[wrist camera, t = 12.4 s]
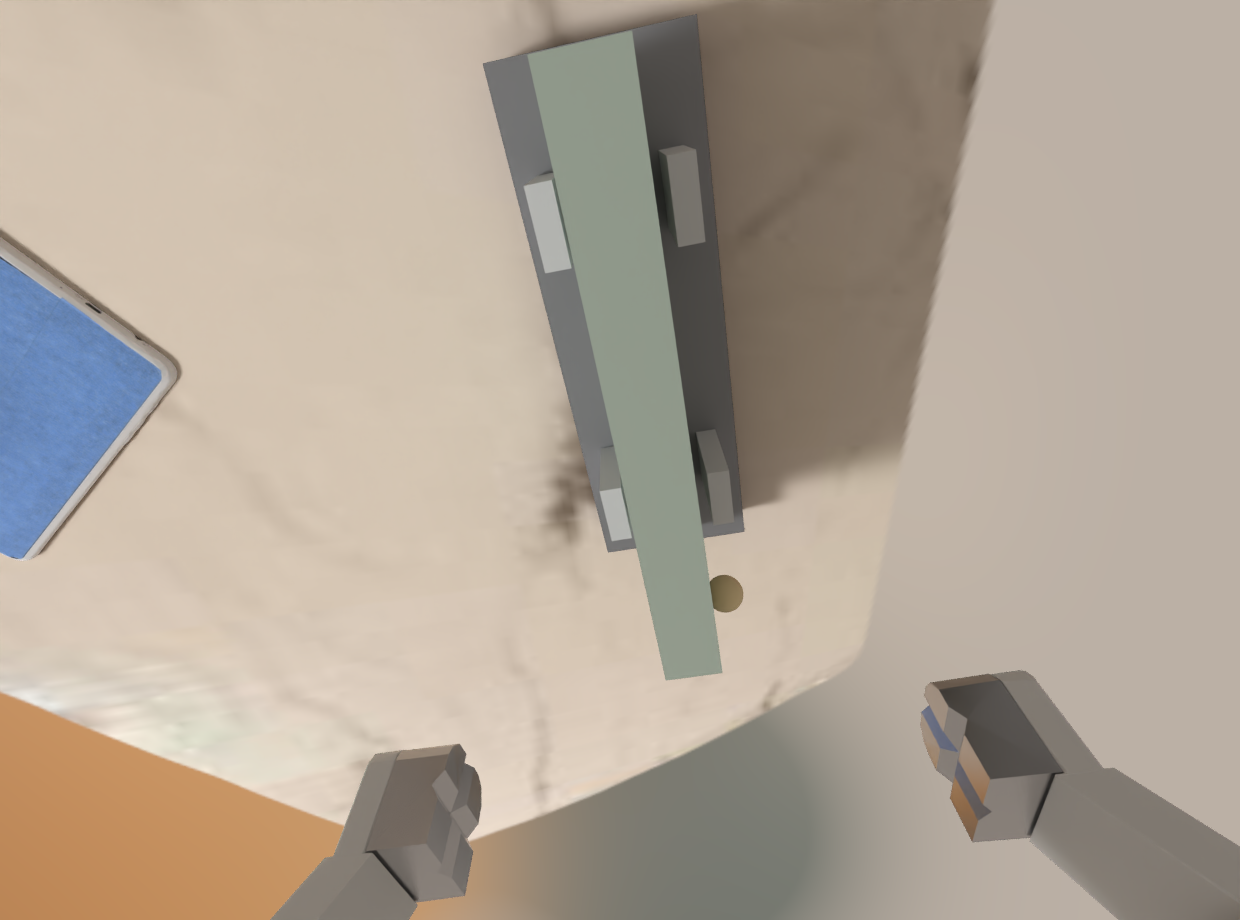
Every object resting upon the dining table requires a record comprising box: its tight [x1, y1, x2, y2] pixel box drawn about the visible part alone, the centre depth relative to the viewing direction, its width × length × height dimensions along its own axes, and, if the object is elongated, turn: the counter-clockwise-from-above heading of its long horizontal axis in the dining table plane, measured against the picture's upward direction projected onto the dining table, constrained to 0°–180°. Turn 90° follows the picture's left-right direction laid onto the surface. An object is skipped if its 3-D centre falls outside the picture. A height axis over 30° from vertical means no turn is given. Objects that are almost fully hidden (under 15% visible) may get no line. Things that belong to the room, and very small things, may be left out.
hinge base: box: [483, 14, 744, 552], centre depth 26 cm, size 24×8×6 cm, turn 11°
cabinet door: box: [527, 31, 743, 680], centre depth 22 cm, size 22×4×10 cm, turn 11°
